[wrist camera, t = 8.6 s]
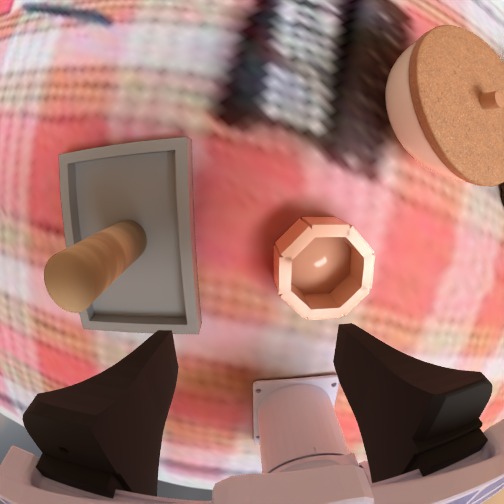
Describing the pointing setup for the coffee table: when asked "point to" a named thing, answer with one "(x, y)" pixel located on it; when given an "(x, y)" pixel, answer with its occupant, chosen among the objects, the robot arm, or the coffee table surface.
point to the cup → (322, 267)
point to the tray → (152, 221)
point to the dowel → (93, 265)
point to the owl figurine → (503, 195)
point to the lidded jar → (450, 105)
